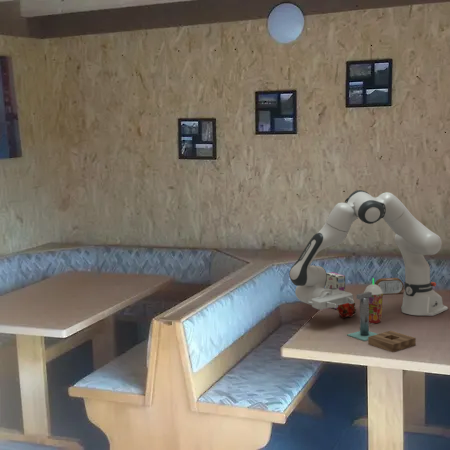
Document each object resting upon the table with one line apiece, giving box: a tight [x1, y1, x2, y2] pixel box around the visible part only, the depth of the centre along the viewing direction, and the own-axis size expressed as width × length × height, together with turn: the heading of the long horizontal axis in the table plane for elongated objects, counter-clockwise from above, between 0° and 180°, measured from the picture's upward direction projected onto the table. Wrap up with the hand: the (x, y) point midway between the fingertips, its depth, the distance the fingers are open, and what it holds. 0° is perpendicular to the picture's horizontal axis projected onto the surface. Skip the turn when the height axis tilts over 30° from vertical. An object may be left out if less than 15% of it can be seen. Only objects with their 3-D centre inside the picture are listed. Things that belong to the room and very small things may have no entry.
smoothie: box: [363, 277, 384, 324], centre depth 296 cm, size 8×8×20 cm
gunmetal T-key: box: [356, 292, 372, 336], centre depth 277 cm, size 7×4×18 cm, turn 124°
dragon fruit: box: [336, 302, 357, 319], centre depth 307 cm, size 8×8×12 cm
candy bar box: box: [325, 271, 346, 310], centre depth 324 cm, size 11×5×16 cm, turn 23°
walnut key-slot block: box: [367, 330, 417, 353], centre depth 265 cm, size 13×13×3 cm
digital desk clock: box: [374, 277, 404, 296], centre depth 346 cm, size 15×3×8 cm, turn 93°
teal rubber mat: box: [346, 330, 378, 342], centre depth 278 cm, size 10×10×1 cm
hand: (344, 303), depth 287 cm, fingers open, 8 cm apart
